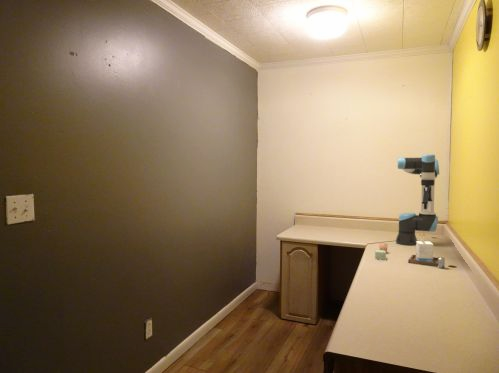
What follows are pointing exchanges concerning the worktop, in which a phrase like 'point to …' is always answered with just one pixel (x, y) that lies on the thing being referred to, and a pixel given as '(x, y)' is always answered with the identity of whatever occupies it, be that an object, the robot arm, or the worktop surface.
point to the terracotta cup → (383, 247)
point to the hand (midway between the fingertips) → (426, 212)
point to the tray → (414, 261)
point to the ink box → (424, 251)
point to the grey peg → (441, 262)
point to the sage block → (380, 254)
